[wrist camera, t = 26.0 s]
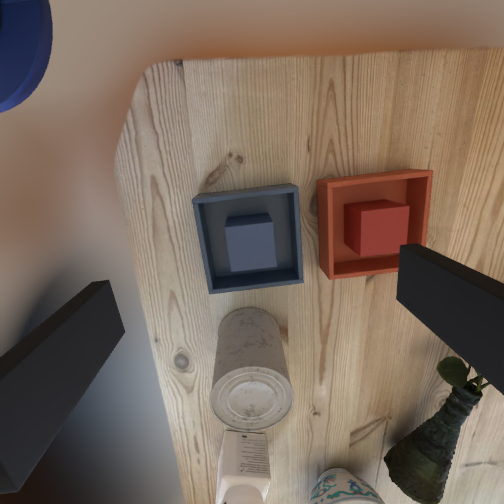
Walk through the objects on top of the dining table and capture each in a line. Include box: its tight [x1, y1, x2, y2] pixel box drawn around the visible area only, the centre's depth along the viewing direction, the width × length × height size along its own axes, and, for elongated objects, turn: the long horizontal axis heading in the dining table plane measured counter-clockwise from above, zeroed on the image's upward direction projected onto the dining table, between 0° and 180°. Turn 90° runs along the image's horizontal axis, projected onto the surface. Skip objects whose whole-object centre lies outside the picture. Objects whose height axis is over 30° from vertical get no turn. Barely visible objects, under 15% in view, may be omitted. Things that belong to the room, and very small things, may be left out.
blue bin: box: [192, 183, 304, 294], centre depth 35 cm, size 12×12×4 cm
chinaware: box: [308, 468, 385, 504], centre depth 50 cm, size 15×15×8 cm
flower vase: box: [384, 356, 491, 504], centre depth 42 cm, size 16×18×35 cm
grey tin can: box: [209, 308, 294, 432], centre depth 36 cm, size 10×10×12 cm
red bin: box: [317, 169, 433, 280], centre depth 35 cm, size 12×12×4 cm
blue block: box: [225, 213, 277, 272], centre depth 34 cm, size 6×6×6 cm
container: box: [216, 431, 271, 504], centre depth 44 cm, size 8×8×13 cm
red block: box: [344, 199, 410, 257], centre depth 34 cm, size 6×6×6 cm
